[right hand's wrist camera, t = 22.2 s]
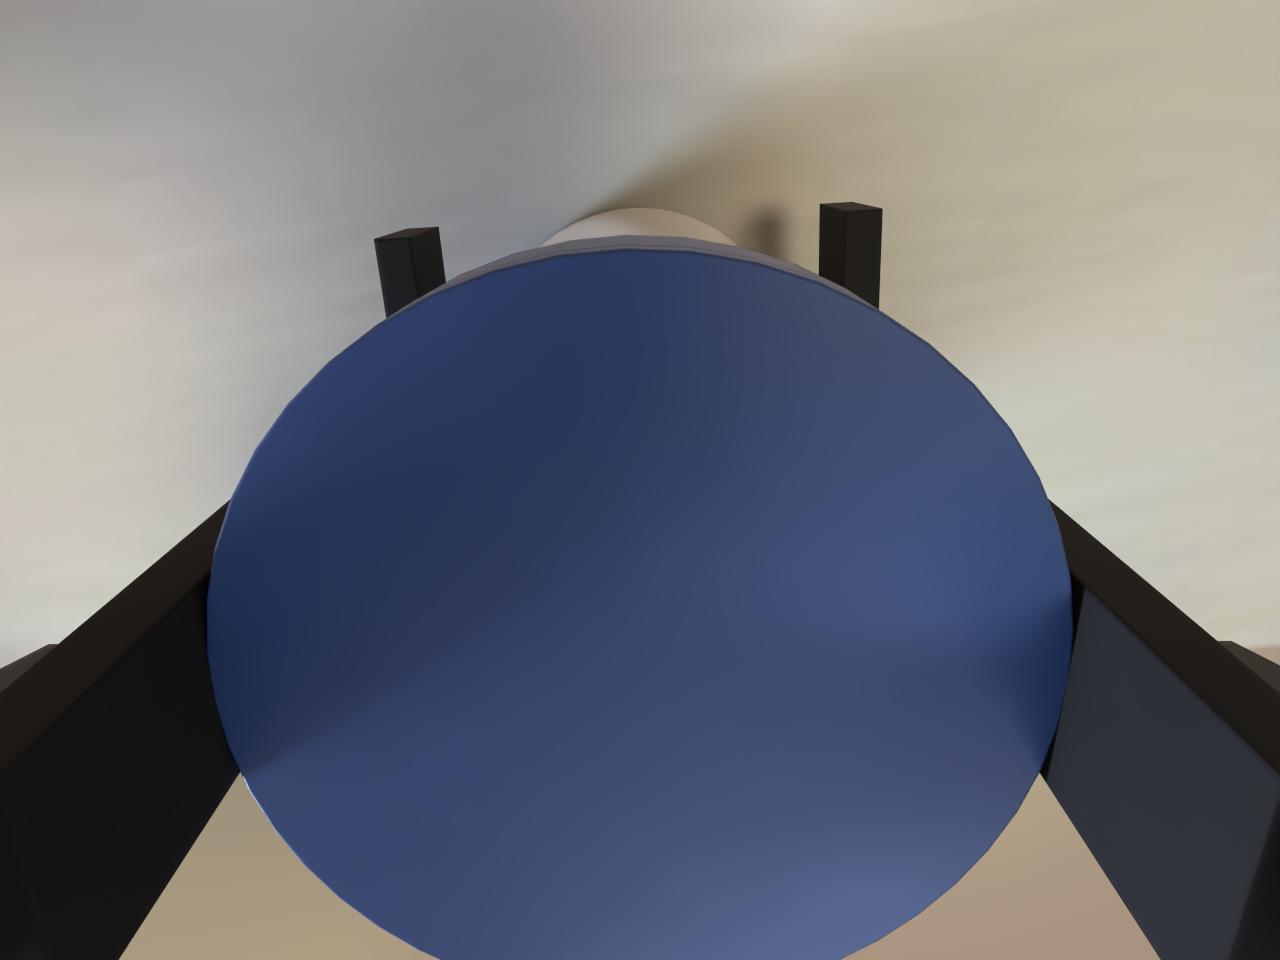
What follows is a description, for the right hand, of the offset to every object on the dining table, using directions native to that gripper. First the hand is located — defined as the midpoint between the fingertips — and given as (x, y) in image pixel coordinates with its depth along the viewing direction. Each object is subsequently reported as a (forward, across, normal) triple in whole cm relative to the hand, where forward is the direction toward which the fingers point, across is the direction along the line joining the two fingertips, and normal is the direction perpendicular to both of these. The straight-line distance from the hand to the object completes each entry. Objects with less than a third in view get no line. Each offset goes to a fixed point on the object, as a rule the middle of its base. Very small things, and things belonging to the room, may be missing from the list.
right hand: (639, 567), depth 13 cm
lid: (-3, 0, 0) cm, 3 cm away
